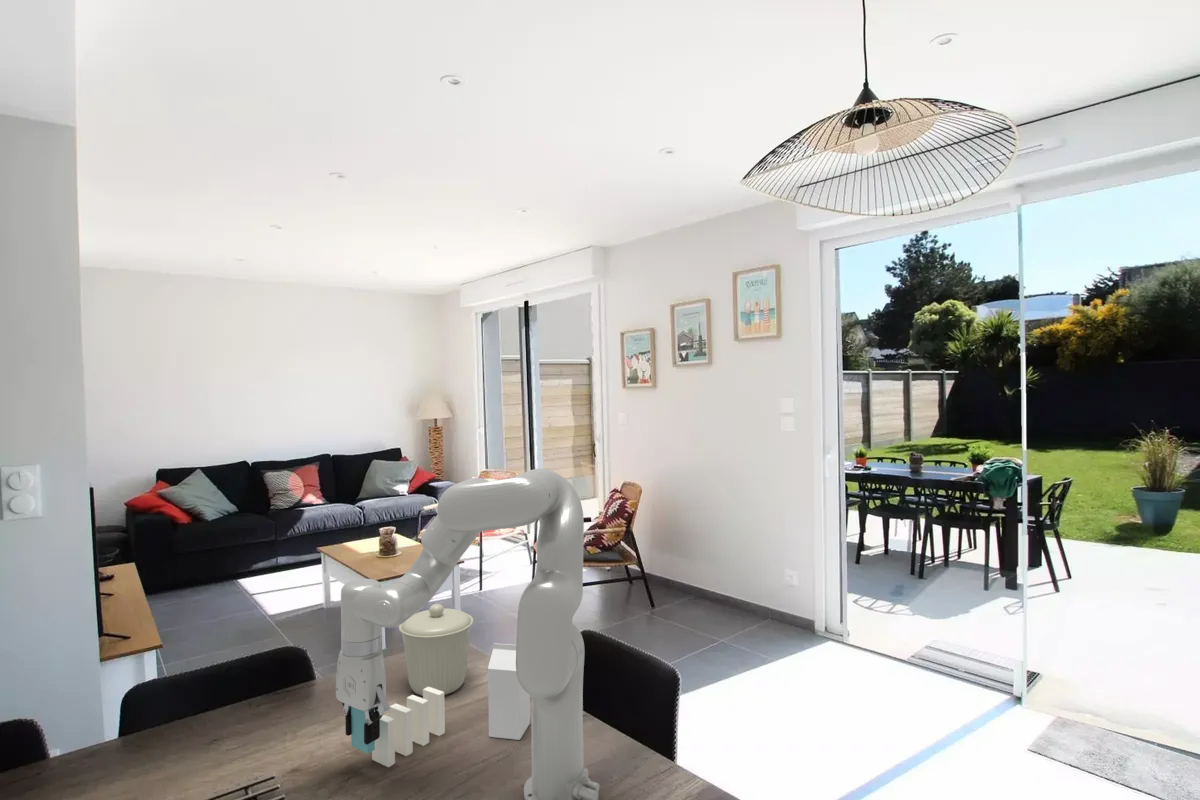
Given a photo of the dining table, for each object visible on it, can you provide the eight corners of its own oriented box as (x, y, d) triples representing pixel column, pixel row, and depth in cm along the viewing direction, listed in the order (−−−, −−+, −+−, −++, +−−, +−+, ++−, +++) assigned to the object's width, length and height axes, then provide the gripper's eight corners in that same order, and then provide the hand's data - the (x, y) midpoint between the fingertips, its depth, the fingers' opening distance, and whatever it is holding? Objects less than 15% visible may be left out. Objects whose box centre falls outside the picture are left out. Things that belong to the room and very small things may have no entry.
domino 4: (429, 742, 138) (428, 700, 137) (423, 746, 136) (422, 703, 136) (413, 735, 140) (412, 694, 140) (407, 739, 139) (406, 697, 139)
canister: (489, 681, 166) (487, 600, 165) (436, 712, 150) (435, 622, 150) (438, 666, 175) (437, 589, 175) (384, 693, 160) (382, 608, 159)
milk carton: (520, 740, 138) (519, 652, 137) (488, 737, 139) (487, 650, 139) (530, 723, 145) (529, 639, 144) (500, 720, 146) (499, 637, 146)
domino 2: (395, 763, 130) (394, 719, 130) (388, 767, 129) (387, 722, 128) (378, 755, 133) (377, 712, 132) (372, 759, 131) (371, 715, 131)
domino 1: (374, 749, 126) (374, 704, 126) (367, 753, 125) (367, 707, 125) (358, 742, 129) (357, 697, 129) (351, 745, 128) (351, 700, 127)
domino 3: (412, 752, 134) (411, 709, 134) (406, 756, 132) (405, 712, 132) (396, 745, 136) (395, 703, 136) (390, 749, 135) (389, 706, 135)
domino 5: (445, 732, 141) (444, 692, 141) (439, 736, 140) (438, 694, 140) (429, 726, 144) (428, 686, 144) (423, 729, 143) (422, 689, 142)
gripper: (318, 641, 128) (319, 732, 128) (374, 661, 119) (374, 759, 119) (351, 629, 134) (351, 716, 135) (406, 647, 125) (407, 740, 125)
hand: (362, 735), depth 127 cm, fingers closed on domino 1, 4 cm apart
